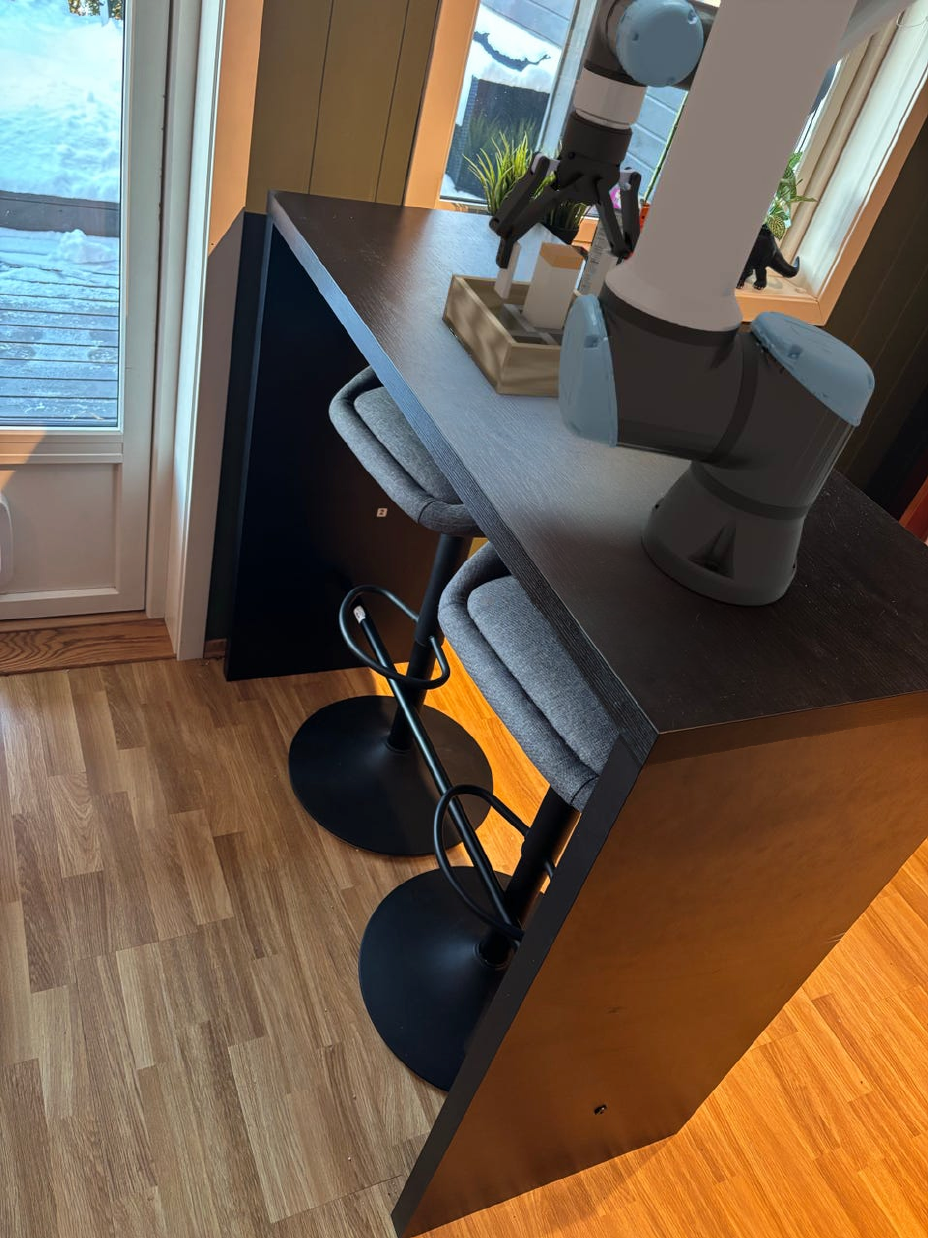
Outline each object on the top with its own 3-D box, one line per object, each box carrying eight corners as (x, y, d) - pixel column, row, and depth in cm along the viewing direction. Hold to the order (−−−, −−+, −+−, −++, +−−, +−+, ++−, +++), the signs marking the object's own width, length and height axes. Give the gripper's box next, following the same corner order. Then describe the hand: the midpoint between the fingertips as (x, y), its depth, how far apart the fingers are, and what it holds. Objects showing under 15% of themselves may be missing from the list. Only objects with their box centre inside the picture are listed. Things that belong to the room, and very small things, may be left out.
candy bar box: (578, 297, 144) (614, 185, 134) (609, 308, 144) (647, 197, 134) (564, 320, 135) (602, 202, 125) (598, 332, 135) (638, 214, 125)
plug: (555, 349, 124) (584, 257, 116) (528, 347, 122) (555, 254, 115) (542, 335, 126) (570, 245, 119) (516, 333, 125) (542, 241, 117)
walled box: (627, 400, 119) (644, 355, 115) (498, 393, 112) (512, 346, 108) (560, 328, 132) (573, 286, 129) (442, 318, 125) (452, 273, 121)
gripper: (676, 125, 115) (617, 294, 128) (491, 88, 105) (448, 276, 118) (708, 145, 110) (644, 319, 123) (518, 108, 100) (469, 302, 113)
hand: (548, 298), depth 120 cm, fingers open, 13 cm apart
